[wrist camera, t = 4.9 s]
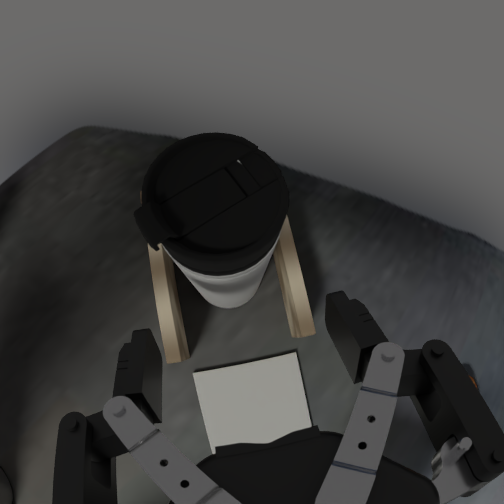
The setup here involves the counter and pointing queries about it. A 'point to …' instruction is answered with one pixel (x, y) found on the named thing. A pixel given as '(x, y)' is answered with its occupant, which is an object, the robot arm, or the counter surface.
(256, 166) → the travel mug
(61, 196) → the counter surface
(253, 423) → the grey mat
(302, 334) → the frame
